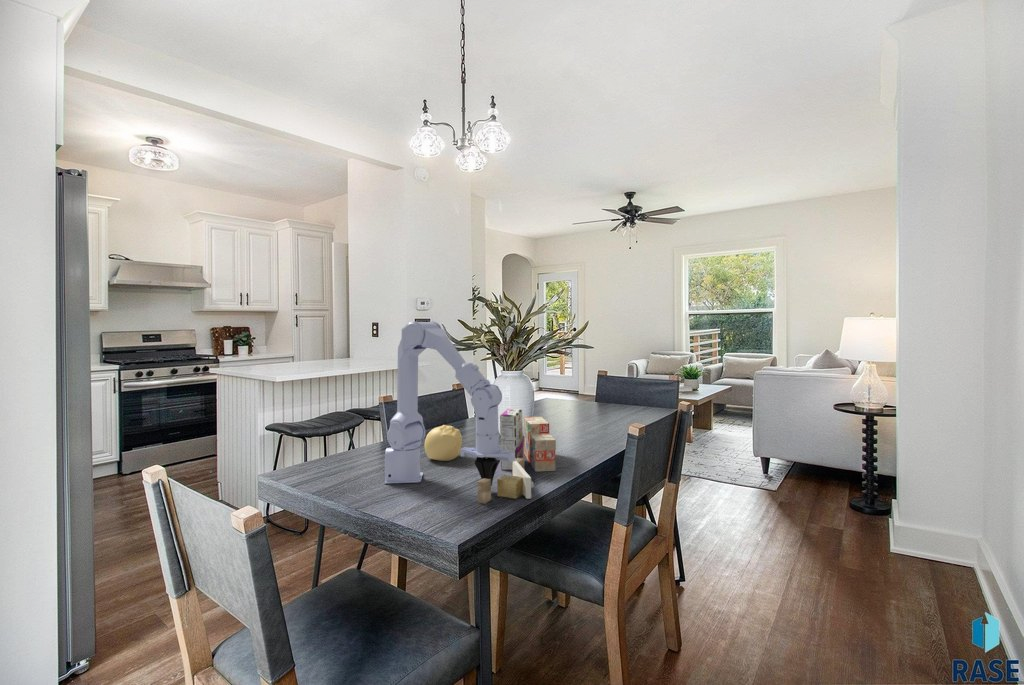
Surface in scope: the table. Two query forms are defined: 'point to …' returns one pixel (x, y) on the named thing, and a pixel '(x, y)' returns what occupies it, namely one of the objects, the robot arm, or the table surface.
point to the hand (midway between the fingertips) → (487, 486)
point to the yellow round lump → (443, 443)
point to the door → (526, 479)
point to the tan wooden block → (510, 487)
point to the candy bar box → (511, 435)
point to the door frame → (485, 485)
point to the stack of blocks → (539, 444)
